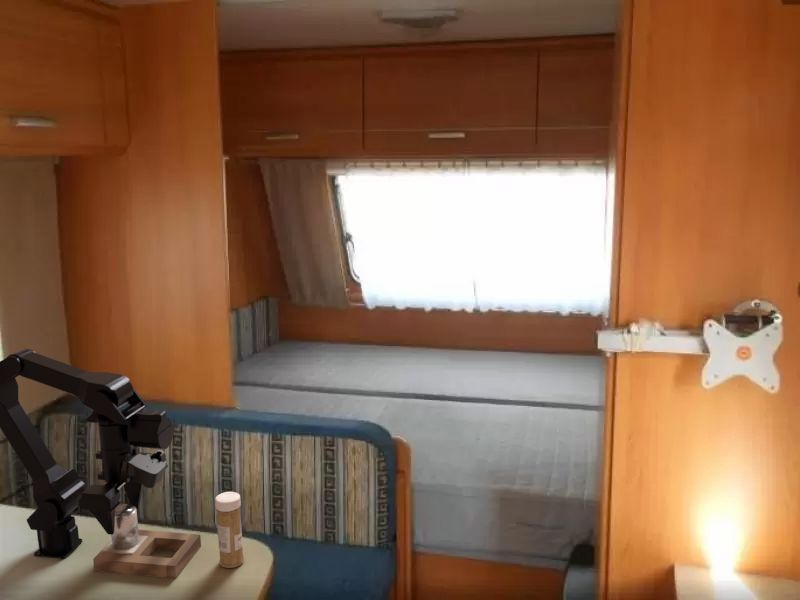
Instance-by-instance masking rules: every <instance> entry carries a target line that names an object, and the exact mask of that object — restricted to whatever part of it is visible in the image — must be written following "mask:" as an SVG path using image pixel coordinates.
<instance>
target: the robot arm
mask: <svg viewBox="0 0 800 600" xmlns="http://www.w3.org/2000/svg"><path fill="white" fill-rule="evenodd" d="M19 376H20V377H23V378H25V379H28V380H31V381H34V382H37V383H39V384H42V385H45V386H47V387H50V388H53V389H55V390H58V391H62V392H64V393H67V394H70V395H72V396H74V397H76V398H78V400H79V401H80V403H82V405H83V406H85V407H86V408H88V409H90V410H91V411H92V413H91V414H90V415H89V416H88V417H87V418H85V422H86V423H90V424H91V423H92V424H97V431H98V444H99V450H98V451H96V452H95V460H100V461H101V462H100V463H101V471H100V472H99V473H98V474H97V480H98V481H99V480H100V481H104V482H105V484H104V485H103V484H91V485H90V486H88V487H87V488H85V487H84V486H85V485H86V483H85V482H83V481H82V479H81V478H80V476H79V474H78V473H77V470H76V469H75V468H74V467H72V468H70V469H68V470H67V469H65V468H64V467H61V466H60V465H58V463H57V462H56V460H55V459H54V457H53V455H52V454H51V452H50V449H48V446H47V445H46V444H45V442H44V441H43V438H42V437H41V436H40V434H39V433H38V431H37V429H36V428H35V426H34V424H33V423H32V421H31V419H30V418H29V416H28V415H27V413H26V411H25V409H24V407H23V406H22V404H21V403H20V401H19V384H18V382H17V380H16V379H17V378H18V377H19ZM127 404H128V405H129V406H127V407H125V408H124V409H122V410H120V408H122V407H124V406H125V405H127ZM147 408H148V405H147V403H146V402H145V401H144V400H143V398H142V396H141V395H140V394H139V393H138V392H137V390H136V389H135V388H134V387H133V385H132V382H131V380H130V378H128V377H127V376H125V375H123V374H121V373H120V374H119V373H114V372H109V371H98V372H97V371H95V372H93V371H88V370H85V369H82V368H79V367H75V366H73V365H71V364H68V363H64V362H62V361H59V360H56V359H54V358H51V357H49V356H45V355H43V354H39V353H37V352H35V350H33V349H31V348H23V349H20V350H18V351H16V352H15V351H14V352H13V353H10V354H9V355H7V356H6V358H4V359H2V360H0V430H1V432H2V434H3V435H4V436H5V438H6V440H7V441H8V443H9V444H10V446H11V448H12V449H13V451H14V452H15V454H16V456H17V458H18V459H19V460H20V463H21V464H22V465H23V466H24V469H25V470H26V472H27V473H28V475H29V477H30V478H31V480H32V492H33V493H32V495H33V496H32V497H33V500H34V502H35V504H36V509H35V510H34V511H33V512H32V513H31V515H29V516H28V517H27V518H26V523H27V525H28V527H29V529H30V530H32V531H36V535H37V542H38V543H37V544H38V549H37V550H36V551H34V552H33V556H35V557H42V558H55V559H65V558H67V557H68V556H69V555H70V554H72V552H73V551H74V550H75V549H76V548H77V547H79V545H81V544H82V543H83V539H82V538H80V534H79V525H78V524H76V518H75V516H73V515H74V514H75V513H77V512H78V511H79V510H84V511H89V512H90V514H92V516H93V517H94V518H95V519H96V520H97V522H98V523H99V525H100V526H101V527H102V529H103V530H104V531H105V533H106V534H107V535H113V534H114V528H115V508H116V507H117V506H118V505H121V503H122V501H120V499H121V491H120V489H121V488H122V487H123V488H124V491H125V493H126V497H127V499H128V502H129V504H130V505H133V506H135V507H136V509H137V511H139V508H140V504H141V499H142V497H143V496H142V495H143V490H144V487H145V488H147V489H153V488H154V487H156V485H157V484H158V483H159V482H161V481H162V478H163V476H164V473H165V470H167V468H168V466H169V465H168V461H167V457H166V452H165V451H164V450H167V449H168V448H169V447H170V446H171V443H172V441H173V438H174V434H175V428H174V424H173V422H172V420H171V418H170V417H167V411H165V410H155V411H153V410H146V409H147ZM141 448H143V449H145V448H146V449H157V450H155V452H154V453H152V452H141V451H140V449H141Z"/></svg>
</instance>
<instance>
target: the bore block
mask: <svg viewBox="0 0 800 600" xmlns="http://www.w3.org/2000/svg"><path fill="white" fill-rule="evenodd" d="M138 534H139V543H138V544H137V545H136V546H134V547H132V548H130V549H125V550H117V549H114V548H113V547H112V540H111V541H110V542H108V543H107V544H106V546H104V547H103V548H102V549H101V550H100V551H99V553H97V554H96V555H95V556H94V558H93V559H92V561H93V569H94V571H93V572H100V573H109V574H110V573H112V574H120V575H122V574H123V575H133V576H144V577H147V576H148V577H155V578H156V577H157V578H167V579H168V578H169V579H177V578H178V577H179V575H180V574H181V573H182V572H183V570H184V569H185V568H186V567H187V565H188V564H189V563H190V562H191V560H192V559H193V558H194V556H195V555H196V554H197V552H198V551H199V550H198V549H200V548H201V547H202V542H201V541H202V540H201V534H200V533H199V534H197V533H186V532H175V531H174V532H171V531H159V530H146V529H138ZM156 550H161V551H174V552H175V553H174V554H173V556H172V557H161V556H153V553H154V552H155V551H156ZM195 553H196V554H195Z"/></svg>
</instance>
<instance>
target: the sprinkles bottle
mask: <svg viewBox="0 0 800 600" xmlns="http://www.w3.org/2000/svg"><path fill="white" fill-rule="evenodd" d="M214 505H215V506H214V507H215V511H216V520H217V521H216V527H217V539H218V549H219V565H220V566H222V567H223V568H227V569H233V568H237V567H239V566H241V565H242V564H243V563H244V560H245V558H244V550H243V549H244V548H243V547H244V546H243V543H244V542H243V533H242V532H243V531H242V521H241V505H242V502H241V495H240V494H239V493H238V492H235V491H226V492H225V491H224V492H222V493H220V494H218V495H216V497H215V499H214Z"/></svg>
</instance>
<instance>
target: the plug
mask: <svg viewBox="0 0 800 600" xmlns="http://www.w3.org/2000/svg"><path fill="white" fill-rule="evenodd" d="M137 512H138V510H137V509H136V507H135V506H133V505H130V503H123V504H119V505H118V506H117V507H116V508H115V528H114V534H113V535H111V538H110V539H111V541H112V547H113V548H114V549H117V550H125V549H130V548H132V547H134V546H136V545H137V544H138V543H139V534H138V530H139V526H138V525H139V523H138V513H137Z"/></svg>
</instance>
